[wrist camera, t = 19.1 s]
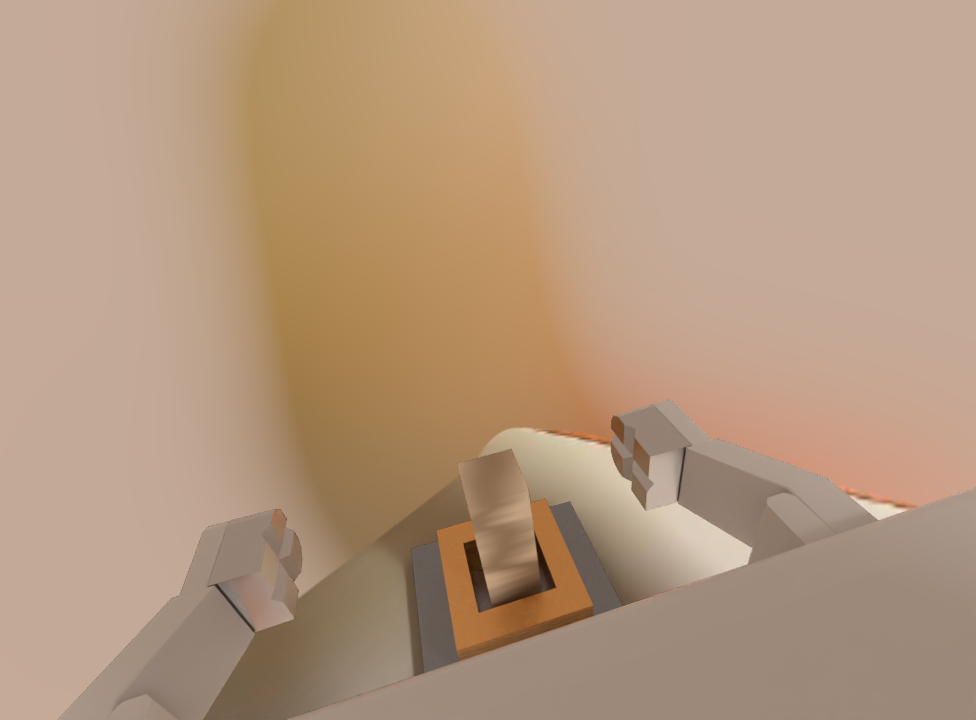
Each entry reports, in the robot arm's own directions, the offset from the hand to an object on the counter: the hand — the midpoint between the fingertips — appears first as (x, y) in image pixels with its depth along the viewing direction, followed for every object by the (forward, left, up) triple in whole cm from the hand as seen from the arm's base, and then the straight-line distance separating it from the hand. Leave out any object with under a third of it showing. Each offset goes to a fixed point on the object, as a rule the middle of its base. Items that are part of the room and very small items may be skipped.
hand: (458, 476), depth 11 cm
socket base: (-2, -13, -30) cm, 33 cm away
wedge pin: (-2, -13, -28) cm, 31 cm away
